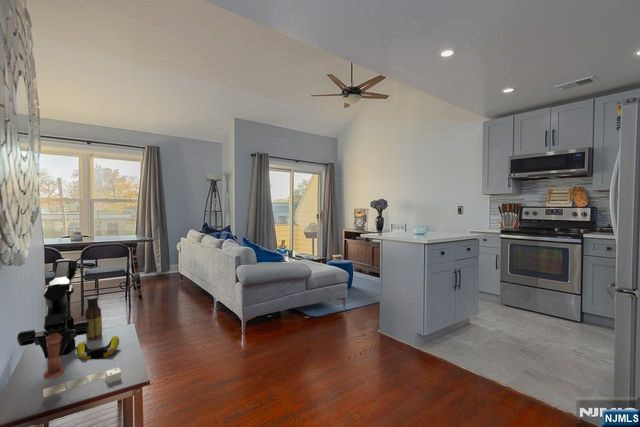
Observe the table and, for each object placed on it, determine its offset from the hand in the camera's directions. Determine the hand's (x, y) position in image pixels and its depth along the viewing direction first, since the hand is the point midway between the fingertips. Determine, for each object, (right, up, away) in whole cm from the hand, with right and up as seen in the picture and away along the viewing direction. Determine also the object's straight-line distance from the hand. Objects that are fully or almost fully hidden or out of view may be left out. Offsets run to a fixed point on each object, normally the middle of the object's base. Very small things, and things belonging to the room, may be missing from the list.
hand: (53, 356), depth 102 cm
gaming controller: (-5, -12, +28) cm, 31 cm away
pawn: (-1, -7, +1) cm, 7 cm away
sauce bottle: (-18, -11, +42) cm, 47 cm away
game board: (+1, -13, +8) cm, 15 cm away
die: (+14, -14, +9) cm, 22 cm away
